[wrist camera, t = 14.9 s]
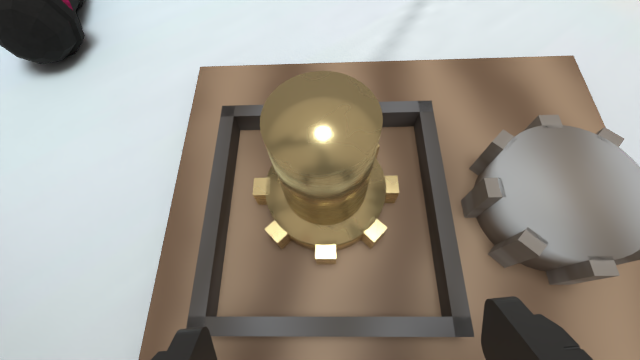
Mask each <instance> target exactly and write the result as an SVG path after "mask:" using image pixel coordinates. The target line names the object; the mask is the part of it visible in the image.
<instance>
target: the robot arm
mask: <svg viewBox="0 0 640 360" xmlns="http://www.w3.org/2000/svg"><path fill="white" fill-rule="evenodd" d="M481 346H482V350H483V354H484V356H485V359H486V360H593V359H592V358H591V357H590V356H589V355H588V354H587V353H586V352H585V351H584V350H583V349H581V348H580V345H579V344H578V343H577V342H576V341H575V340H574V339H573V338H572V337H571V336H570V335H569V334H568V333H567V332H566V331H565V330H564V329H563V328H562V327H560V326H559V325H557V324H556V323H554V322H553V321H551V320H550V319H548V318H546V317H545V316H543V315H542V314H533V313H532V312H531V311H530V310H529V309H528V308H527V307H526V306H525V304H524V303H523V302H522V301H521V300H520V299H519V298H517V297H515V296H511V297H501V298H491V299H487V300H486V301H485V304H484V313H483V323H482V333H481ZM151 360H217V356H216V353H215V349H214V345H213V342H212V338H211V335H210V331H209V329H208V328H207V327H196V328H186V329H179V330H178V331H177V332H176V334H175V336H174V338H173V340H172V342H171V344H170V346H169V348H168V350H167V351H159V352H157V354H156V355H155V356H154V357H153V358H152V359H151Z"/></svg>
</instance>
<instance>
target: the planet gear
mask: <svg viewBox="0 0 640 360" xmlns="http://www.w3.org/2000/svg"><path fill="white" fill-rule="evenodd" d="M382 124H383V116H382V110H381V107H380V104H379V102H378V100H377V98H376V97H375V95H374V94H373V92H372V91H371V90H370V89H369V88H368V87H367V86H366V85H364V84H363V83H362V82H360V81H359V80H357V79H355V78H353V77H351V76H349V75H346V74H343V73H338V72H333V71H313V72H307V73H303V74H300V75H297V76H295V77H292V78H290V79H289V80H287V81H285V82H284V83H282V84H281V85H279V86H278V87H277V88H276V89H275V90H274V91H273V92H272V93H271V94H270V96H269V97H268V98H267V100H266V102H265V104H264V106H263V108H262V111H261V116H260V131H261V135H262V138H263V141H264V143H265V146H266V149H267V151H268V154H269V157H270V159H271V162H272V166H271V168H270V170H269V172H268V175H267V178H254V184H253V197H254V198H255V200H256V202H257V203H258V205H268V208H269V210H270V213H271V215H272V217H273V218H274V221H273V222H272V223H271V224H270V225H269V226H267V227H266V228H265V231H266V232H267V234H268V235H269V236H270V238H271V239H272V240H273V241H274V242H275V243H276V244H277V245H278V246H279V247H280V248H281V249H283V248H284V247H286V246H287V245H288V244H289V243H290V242H291V241H293V242H294V243H296V244H298V245H300V246H302V247H304V248H307V249H310V250H314V251H315V259H316V263H317V264H336V251H337V250H342V249H345V248H348V247H350V246H352V245H354V244H356V243H358V242H359V241H361V240H362V241H363V242H364V243H365V244H366V245H367V246H368V247H369V248H370V249H372V247H373V246H374V245H375V244H376V243H377V242H378V241H379V240H380V239H381V238H382V237H383V236H384V234H385V232H386V230H387V227H386V226H385V225H384V224H383V223H381V222H380V221H379V220H378V218H379V215H380V213H381V211H382V208H383V205H384V203H395V201H396V199H397V197H398V195H399V185H398V176H397V175H395V176H384V173H383V170H382V168H381V166H380V164H379V162H378V161H377V156H378V152H379V148H380V145H379V144H378V143H379V139H380V135H381V131H382Z"/></svg>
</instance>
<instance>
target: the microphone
mask: <svg viewBox="0 0 640 360" xmlns="http://www.w3.org/2000/svg"><path fill="white" fill-rule="evenodd" d="M82 3H83V0H0V45H1V46H2V47H4V48H5V49H6V50H8V51H9V52H11V53H12V54H14V55H15V56H17V57H19V58H23V59H26V60H29V61H33V62H36V63H40V64H42V63H50V62H57V61H60V60H62V59H64V58H65V57H66V56H68V55H73V54H75V53H76V52H77V50H78V48H79V47H80V45H81V44H82V42H83V39H84V36H85V35H84V32H83V30H82V27H81V24H80V22H79V19H78V16H77V14H76V13H75V12H76V9H77V8H78V7H80V6H82Z"/></svg>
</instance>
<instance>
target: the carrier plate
mask: <svg viewBox="0 0 640 360" xmlns="http://www.w3.org/2000/svg"><path fill="white" fill-rule="evenodd" d="M313 71H333V72H338V73H343V74H346V75H349V76H351V77H353V78H355V79H357V80H359V81H360V82H362V83H363V84H364V85H366V86H367V87H368V88H369V89H370V90H371V91H372V92H373V94H374V95H375V97H376V98H377V100H378V102H379V104H380V107H381V110H382V116H383V124H382V131H381V135H380V139H379V143H378V144H379V145H380V148H379V152H378V156H377V161H378V162H379V164H380V166H381V168H382V170H383V173H384V176H395V175H397V176H398V185H399V195H398V197H397V199H396V201H395V203H384V205H383V208H382V211H381V213H380V215H379V218H378V220H379V221H380V222H381V223H383V224H384V225H385V226H386V227H387V230H386V232H385V234H384V236H383V237H382V238H381V239H380V240H379V241H378V242H377V243H376V244H375V245H374V246H373V247H372V249H370V248H369V247H368V246H367V245H366V244H365V243H364V242H363V241H362V240H361V241H359V242H358V243H356V244H354V245H352V246H350V247H348V248H345V249H342V250H337V251H336V264H317V263H316V259H315V251H314V250H310V249H307V248H304V247H302V246H300V245H298V244H296V243H294V242H293V241H291V242H290V243H289V244H288V245H287V246H286V247H284V248H283V249H281V248H280V247H279V246H278V245H277V244H276V243H275V242H274V241H273V240H272V239H271V238H270V236H269V235H268V234H267V232H266V231H265V228H266V227H267V226H269V225H270V224H271V223H272V222H273V221H274V218H273V217H272V215H271V213H270V210H269V208H268V205H258V203H257V202H256V200H255V198H254V197H253V184H254V178H267V175H268V172H269V170H270V168H271V166H272V162H271V159H270V157H269V154H268V151H267V149H266V146H265V143H264V141H263V138H262V135H261V131H260V116H261V111H262V108H263V106H264V104H265V102H266V100H267V98H268V97H269V96H270V94H271V93H272V92H273V91H274V90H275V89H276V88H277V87H278V86H279V85H281V84H282V83H284V82H285V81H287V80H289V79H290V78H292V77H295V76H297V75H300V74H303V73H307V72H313ZM623 140H624V138H622V137H620V136H619V135H617V134H615V133H613V132H612V131H610V130H608V129H606V127H605V125H604V123H603V121H602V119H601V116H600V114H599V112H598V110H597V107H596V105H595V103H594V101H593V99H592V96H591V94H590V92H589V90H588V87H587V85H586V83H585V81H584V78H583V76H582V74H581V72H580V70H579V67H578V65H577V63H576V61H575V58H574V56H545V57H512V58H479V59H445V60H412V61H379V62H345V63H312V64H279V65H246V66H212V67H200V71H199V76H198V80H197V85H196V90H195V95H194V99H193V104H192V109H191V113H190V118H189V123H188V128H187V132H186V137H185V142H184V147H183V151H182V156H181V161H180V166H179V170H178V175H177V180H176V185H175V189H174V194H173V199H172V204H171V208H170V213H169V218H168V223H167V227H166V232H165V237H164V241H163V246H162V251H161V256H160V260H159V265H158V270H157V275H156V279H155V284H154V289H153V294H152V298H151V303H150V308H149V313H148V317H147V322H146V327H145V332H144V336H143V341H142V346H141V351H140V355H139V360H151V359H152V358H153V357H154V356H155V355H156V354H157V352H159V351H167V350H168V348H169V346H170V344H171V342H172V340H173V338H174V336H175V334H176V332H177V331H178V330H179V329H186V328H196V327H207V328H208V329H209V331H210V335H211V338H212V342H213V345H214V349H215V353H216V356H217V360H486V359H485V356H484V354H483V350H482V346H481V333H482V323H483V313H484V304H485V301H486V300H487V299H491V298H501V297H511V296H515V297H517V298H519V299H520V300H521V301H522V302H523V303H524V304H525V306H526V307H527V308H528V309H529V310H530V311H531V312H532V313H533V314H542V315H543V316H545V317H546V318H548V319H550V320H551V321H553V322H554V323H556V324H557V325H559V326H560V327H562V328H563V329H564V330H565V331H566V332H567V333H568V334H569V335H570V336H571V337H572V338H573V339H574V340H575V341H576V342H577V343H578V344H579V345H580V348H581V349H583V350H584V351H585V352H586V353H587V354H588V355H589V356H590V357H591V358H592V359H593V360H640V167H639V166H638V165H637V164H636V162H635V161H634V160H633V159H632V158H631V157H630V156H629V155H628V154H627V153H625V152H624V151H623V150H622V149H620V148H619V146H620V144H621V143H622V142H623Z"/></svg>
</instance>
